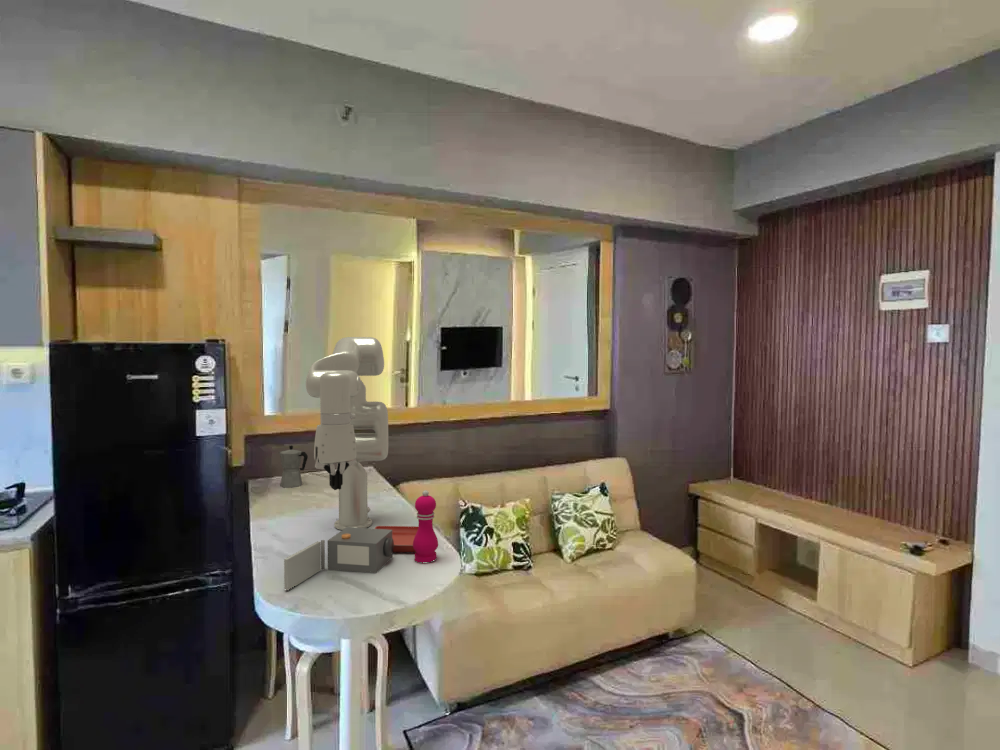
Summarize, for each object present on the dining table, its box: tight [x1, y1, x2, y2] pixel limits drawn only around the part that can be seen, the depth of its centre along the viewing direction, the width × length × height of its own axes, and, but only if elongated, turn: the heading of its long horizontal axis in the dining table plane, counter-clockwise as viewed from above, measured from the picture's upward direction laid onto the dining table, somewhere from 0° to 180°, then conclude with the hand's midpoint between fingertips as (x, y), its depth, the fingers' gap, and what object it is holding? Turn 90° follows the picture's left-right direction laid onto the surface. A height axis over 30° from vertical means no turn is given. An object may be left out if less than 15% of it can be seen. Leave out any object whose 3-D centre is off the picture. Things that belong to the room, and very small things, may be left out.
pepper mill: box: [413, 490, 439, 564], centre depth 158 cm, size 7×7×20 cm
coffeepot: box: [278, 445, 309, 489], centre depth 247 cm, size 15×9×18 cm, turn 70°
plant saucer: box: [374, 525, 418, 553], centre depth 171 cm, size 18×18×3 cm
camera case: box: [327, 527, 394, 574], centre depth 155 cm, size 12×15×9 cm
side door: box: [283, 539, 326, 591], centre depth 144 cm, size 2×15×8 cm, turn 163°
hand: (336, 488), depth 146 cm, fingers closed
